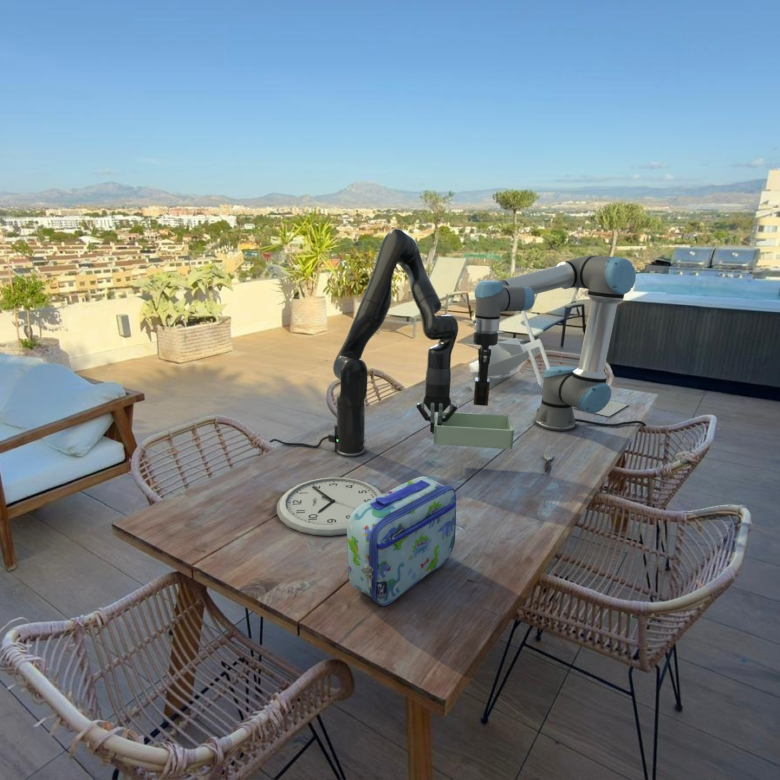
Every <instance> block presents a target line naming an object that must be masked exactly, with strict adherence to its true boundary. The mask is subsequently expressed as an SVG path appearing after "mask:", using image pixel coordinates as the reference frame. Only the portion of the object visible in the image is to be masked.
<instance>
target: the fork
mask: <svg viewBox="0 0 780 780" xmlns="http://www.w3.org/2000/svg"><path fill="white" fill-rule="evenodd" d="M553 451H554V450H553V448H552V451H551V449H549V451H547V450H545V452H544V455H543V459H545V460H546V461H545V463H544V473H547V470H548V468H549V461H551V460H553Z"/></svg>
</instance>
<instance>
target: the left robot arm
mask: <svg viewBox="0 0 780 780" xmlns="http://www.w3.org/2000/svg"><path fill="white" fill-rule="evenodd" d="M397 265H399V266H400V267H401V268H402V270H403V271H404V272H405V274H406V276H407V278H408V281H409V289H410V293H411V296H412V298H413V301H414V303H415V306H416V307H417V309H418V311H419V316H420V321H421V322H420V323H421V328H422V332H423V334H424V336H425V337H426V338H427V339H429V340H430V341H438V342H437V344H435V345H433V346H430V347H429V348H428V351H427V361H426V362H427V363H426V364H427V365H426V371H425V391H424V392H425V393H424V397H423V400H422V401H420V402H417V403H416V410H418V412H419V413H420V415H421V416H422V418H423V419H424V421H425V422H429V423H430V427H429V431H430V432H431V433H432V435H434V424H435V414H436V412H438V422H437V425H440V426H442V423H443V422H447V421H448V420H449V419H450V417H451V416H452V415H453V414H454V413H455V412H457V410H458V405H457V404H454V403H453V402H452V400H451V397H450V396H451V395H450V394H451V381H452V380H451V379H452V373H451V363H452V353H453V349H454V346H455V343H456V340H457V337H458V333H459V323H458V321H457V318H456V317H454V316H453V315H451V314H442V315H435V314H437V313H439V312H440V310H441V309H442V302H441V300H440V297H439V295H438V293H437V291H436V289H435V288H434V285H433V284H432V282H431V280H430V277H429V275H428V273H427V270H426V268H425V265H424V262H423V259H422V256H421V251H420V249H419V246H418V244H417V242H416V240H415V239H414V237H412V236H411V235H409V234H408V233H406V232H405V231H404V230H402V229H400V228H393V229H391V230H390V231H388V233H386V235H385V236H384V237H383V240H382V242H381V245H380V248H379V251H378V255H377V258H376V262H375V265H374V268H373V271H372V274H371V277H370V279H369V281H368V284H367V286H366V289H365V292H364V294H363V296H362V298H361V301H360V303H359V306H358V308H357V310H356V313H355V316H354V318H353V321H352V323H351V326H350V328H349V331H348V333H347V336H346V338H345V339H344V342H343V344H342V346H341V348H340V349H339V351H338V354H337V355H336V357H335V359H334V361H333V365H332V371H333V374H334V376H335V378H337V379H338V380H339V381H340V391H339V393H338V394H336V423H335V424H334V427H333V428H334V429H333V430H334V431H333V432H331V433H329V434H328V435H326V436H324V437H322V438H321V439H320V441H319V442H318V444H316V445H312V444H307V443H301V442H285V441H282V440H280V439H278V438H273V439H271V440H269V443H273V442H277V443H280V444H282V445H285V446H286V445H287V446H303V447H308V448H313V449H315V448H319V447H321V445H322V442H323V441H324V440H327V441H328V442H330V443H332V444H334V452H337V454H338V455H340V456H343V457H358V456H361V455H363V454H364V453H365V452H366V447H365V444H366V440H367V438H366V437H365V434H366V433H365V425H366V424H365V418H366V417H365V415H366V414H365V413H366V411H365V409H366V407H365V404H366V401H365V399H366V397H367V394H368V380H369V379H368V377H369V376H368V366H367V364H366V362H365V361H364V360H362V356H363V353H364V351H365V348H366V345H367V344H368V343H369V341H370V340H371V338H373V336H375V334H376V333H377V332H378V331H379V330H380V328H381V327H382V326H383V324H384V322H385V320H386V317H387V316H388V312H389V310H390V308H391V304H392V290H393V287H392V286H393V276H394V272H395V269H396V267H397ZM425 407H426V409H427V410H428V411H429V412H430V415H429V414H428V412H427V411H426V409H425ZM447 409H448V411H446V410H447ZM442 412H447V414H446V415H445V416H444V417H442ZM365 438H366V439H365Z"/></svg>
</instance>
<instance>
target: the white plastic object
mask: <svg viewBox="0 0 780 780" xmlns="http://www.w3.org/2000/svg"><path fill="white" fill-rule="evenodd" d="M520 314H521V316H522V319H523V323H524V326H525V328H526V331H527V334H528V337H529V340H530V341H529V342H527V343H525V344H524V343H521V342H520V341H519V338H518V337H515V338H510V339H506V340H502V341H499V340H498V343H497V344H496V345H494V346H489V349H491V356H490V364H489V365H488V377H494V376H495V377H497V376H501V377H504V376H507V375H510V374H511V371H513V370H514V369H516V368H517V367H519V366H520V365H522V364H523V363H524V362H526V361H527V360H530V363H531V366H532V369H533V371H534V374H535V377H536V378H535V379H536V380H537V383H538V386H539V387H540V388H541V389H542V390H543V378H542V375H541V372H540V370H539V366H538V364H537V360H536V358H535V355H538V354H540V353H541V356H542V359H543V363H544V365H545V368H546V369H547V368H549V367H551V363H550V361H549V359H548V355H547V353H546V350H545V348H544V344H543V341H541V338H536V339H535V336H534V333H533V330H532V328H531V325H530V321H529V317H528V315H527V312H526V310H525V311H520ZM478 362H479V361H478V359H477V360H475V361H472V362H470V363H469V364H468V366H469V370H470V373H471V375H472V376H473V378H475V377H478V371H479V363H478Z"/></svg>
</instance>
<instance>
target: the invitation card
mask: <svg viewBox="0 0 780 780" xmlns="http://www.w3.org/2000/svg"><path fill="white" fill-rule="evenodd" d="M628 406H629V404H627V403H623V402H618V401H614V400H611V399H610V400H609V402H608V404H607V405H606V406H605V407H604V408H603V409H602V410H601V411H599V412H597V413H595V414H596V415H600V416H604V417H608V418H609V417H611V416H613V415H614V414H616V413H617V412H619V411H621V410H623V409H624V408H626V407H628ZM573 409H575V410H578V409H577V408H575V407H573Z"/></svg>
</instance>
